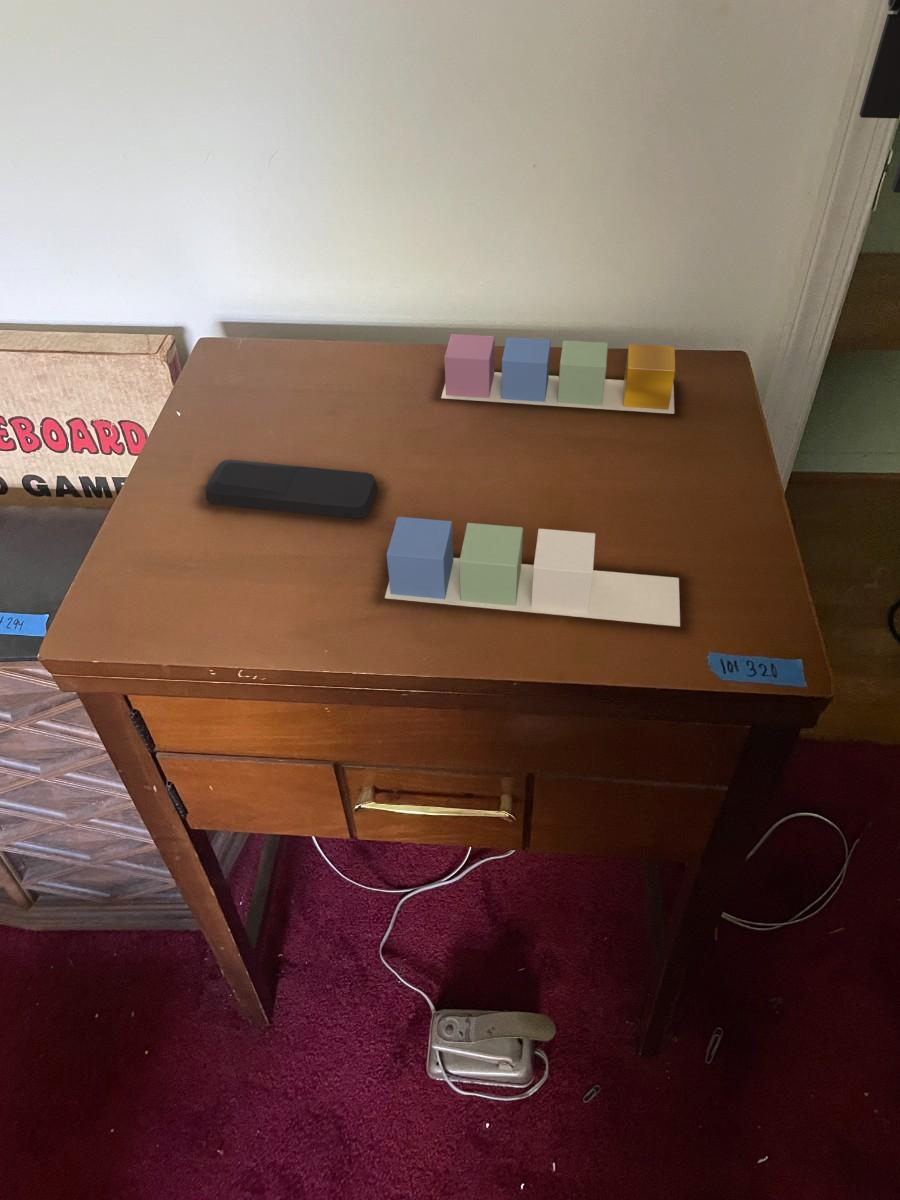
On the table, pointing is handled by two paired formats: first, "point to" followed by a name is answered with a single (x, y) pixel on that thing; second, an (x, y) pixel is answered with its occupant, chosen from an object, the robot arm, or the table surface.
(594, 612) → the white strip with cubes
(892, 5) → the robot arm
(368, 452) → the table surface
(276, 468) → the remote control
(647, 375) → the block
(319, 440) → the table surface
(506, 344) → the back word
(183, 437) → the table surface
